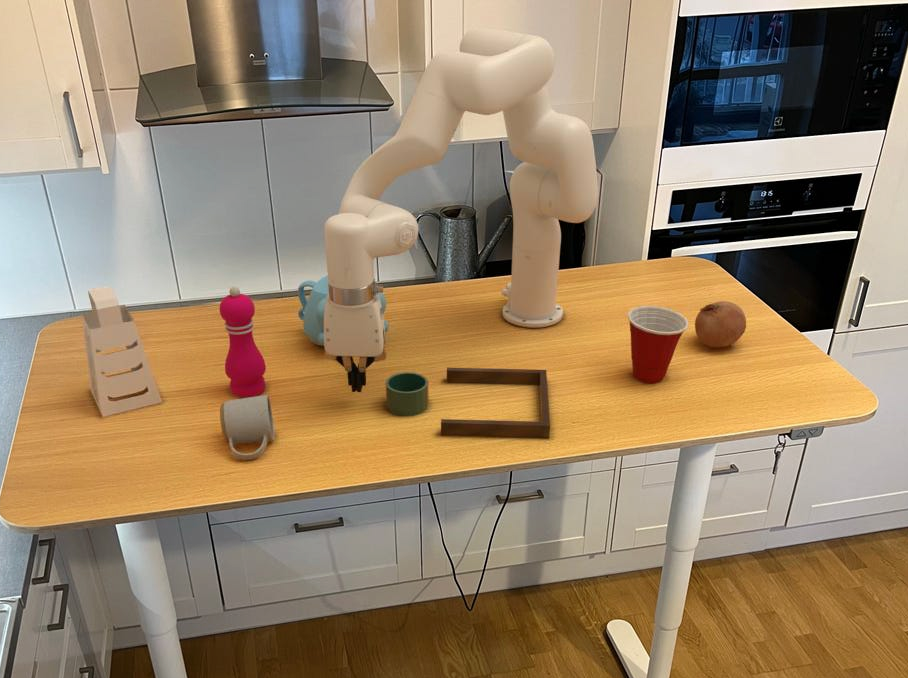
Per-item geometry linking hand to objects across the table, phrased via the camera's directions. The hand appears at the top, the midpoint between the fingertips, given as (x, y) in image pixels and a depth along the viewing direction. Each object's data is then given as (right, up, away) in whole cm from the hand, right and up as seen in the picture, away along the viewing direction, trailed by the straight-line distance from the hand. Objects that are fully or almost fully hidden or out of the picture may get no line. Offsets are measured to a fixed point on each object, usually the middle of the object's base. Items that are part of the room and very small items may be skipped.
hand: (357, 388), depth 163 cm
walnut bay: (+24, -3, +1) cm, 24 cm away
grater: (-42, -1, +5) cm, 43 cm away
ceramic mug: (-17, -10, -8) cm, 21 cm away
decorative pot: (-5, +12, +23) cm, 27 cm away
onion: (+69, +10, +19) cm, 73 cm away
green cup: (+9, -3, +1) cm, 9 cm away
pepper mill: (-21, 0, +7) cm, 22 cm away
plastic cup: (+54, +3, +9) cm, 55 cm away
